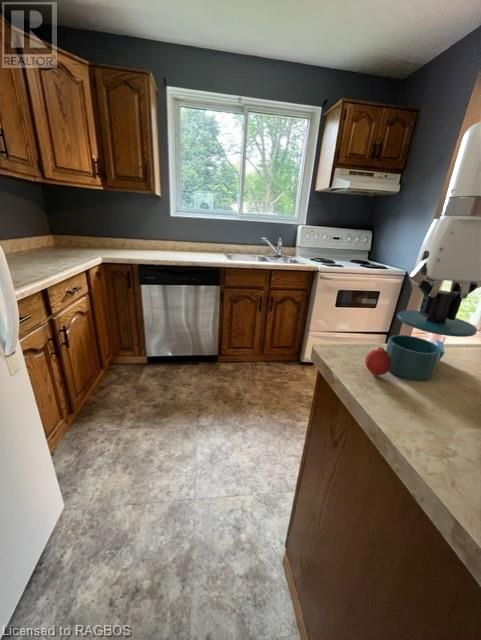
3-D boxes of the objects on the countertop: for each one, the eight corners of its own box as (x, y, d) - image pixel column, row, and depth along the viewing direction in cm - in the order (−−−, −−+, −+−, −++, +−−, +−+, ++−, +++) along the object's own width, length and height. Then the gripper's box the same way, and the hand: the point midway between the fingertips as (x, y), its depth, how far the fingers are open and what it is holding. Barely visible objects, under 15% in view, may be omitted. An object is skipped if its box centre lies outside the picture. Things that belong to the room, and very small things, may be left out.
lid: (444, 317, 57) (454, 286, 55) (493, 342, 45) (509, 304, 43) (384, 314, 57) (392, 282, 55) (419, 337, 46) (430, 299, 43)
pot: (415, 360, 77) (423, 336, 74) (442, 382, 66) (452, 355, 64) (375, 357, 77) (381, 333, 75) (395, 380, 66) (403, 352, 64)
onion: (367, 367, 72) (374, 339, 69) (391, 375, 68) (398, 347, 65) (358, 374, 68) (365, 345, 65) (382, 384, 64) (390, 354, 62)
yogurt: (425, 356, 81) (437, 339, 78) (430, 359, 80) (442, 342, 77) (424, 369, 71) (438, 350, 68) (430, 372, 70) (444, 353, 68)
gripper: (500, 214, 48) (465, 313, 54) (406, 209, 48) (382, 308, 54) (544, 213, 41) (498, 327, 47) (433, 207, 41) (402, 321, 47)
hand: (436, 316), depth 50 cm, fingers closed on lid, 3 cm apart
